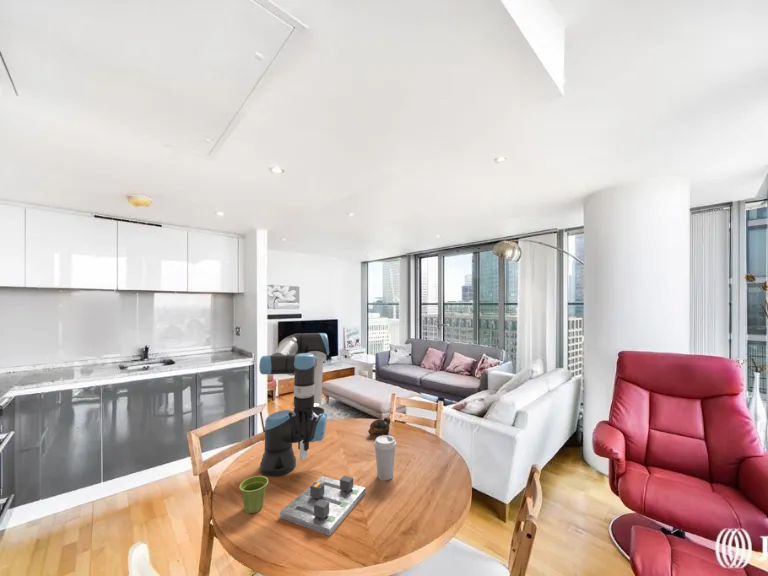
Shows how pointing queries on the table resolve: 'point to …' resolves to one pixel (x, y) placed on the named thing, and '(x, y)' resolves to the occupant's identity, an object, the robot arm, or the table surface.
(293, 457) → the robot arm
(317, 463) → the table surface
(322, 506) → the block
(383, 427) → the decorative turtle
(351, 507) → the panel
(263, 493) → the plant pot
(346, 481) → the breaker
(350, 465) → the table surface
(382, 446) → the coffee cup
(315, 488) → the breaker
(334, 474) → the table surface
